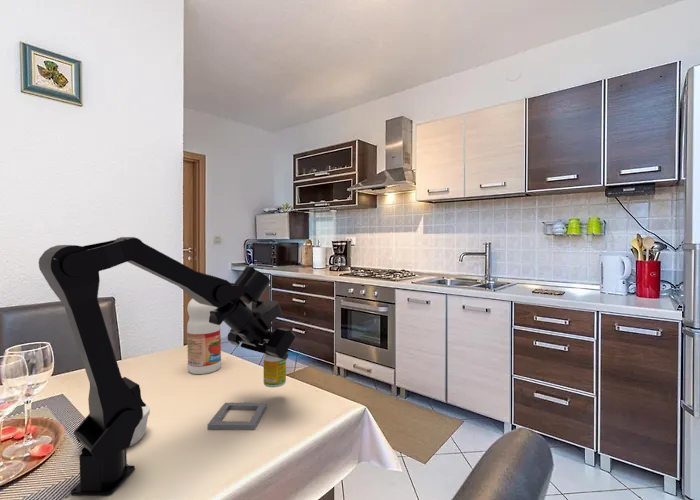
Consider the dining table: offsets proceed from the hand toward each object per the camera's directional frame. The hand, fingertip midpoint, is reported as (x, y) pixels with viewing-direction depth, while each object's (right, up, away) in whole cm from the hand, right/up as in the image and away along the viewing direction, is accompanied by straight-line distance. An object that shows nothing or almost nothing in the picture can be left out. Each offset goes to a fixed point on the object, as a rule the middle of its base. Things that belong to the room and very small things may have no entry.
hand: (279, 355), depth 88 cm
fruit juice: (-27, -10, +20) cm, 35 cm away
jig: (-7, -11, -9) cm, 16 cm away
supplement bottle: (-1, -7, -1) cm, 7 cm away
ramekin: (-29, -12, -18) cm, 36 cm away
